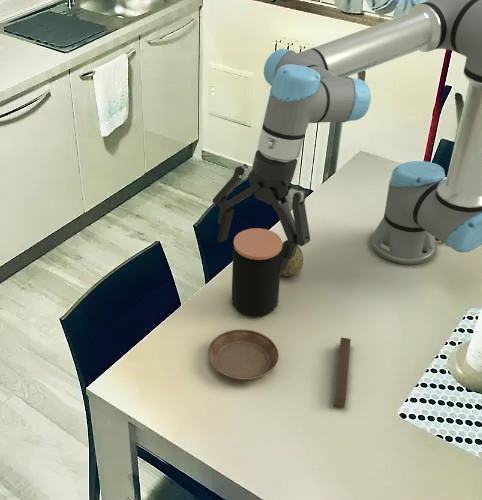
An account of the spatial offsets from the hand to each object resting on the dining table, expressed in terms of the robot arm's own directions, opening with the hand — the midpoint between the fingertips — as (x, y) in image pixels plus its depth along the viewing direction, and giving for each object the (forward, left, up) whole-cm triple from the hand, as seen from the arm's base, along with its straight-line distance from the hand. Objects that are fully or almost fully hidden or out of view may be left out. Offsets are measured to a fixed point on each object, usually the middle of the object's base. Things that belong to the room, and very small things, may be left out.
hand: (250, 254), depth 139 cm
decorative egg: (-5, -30, -27) cm, 41 cm away
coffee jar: (+1, -17, -27) cm, 32 cm away
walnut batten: (-20, +1, -27) cm, 34 cm away
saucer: (0, +2, -27) cm, 28 cm away
